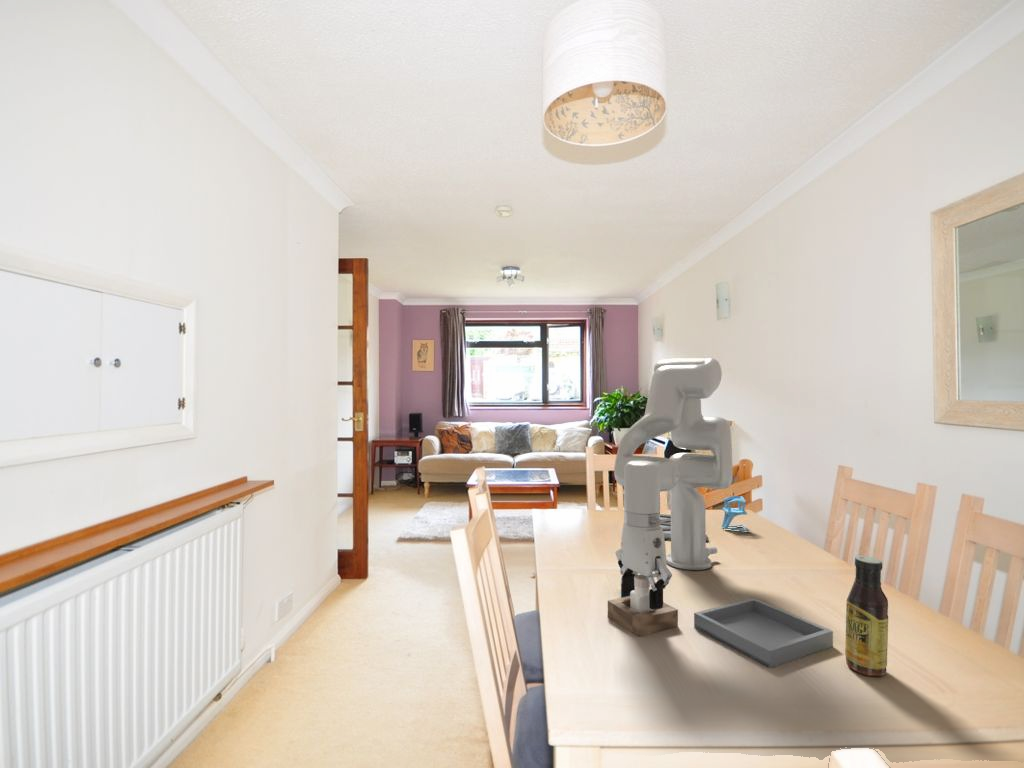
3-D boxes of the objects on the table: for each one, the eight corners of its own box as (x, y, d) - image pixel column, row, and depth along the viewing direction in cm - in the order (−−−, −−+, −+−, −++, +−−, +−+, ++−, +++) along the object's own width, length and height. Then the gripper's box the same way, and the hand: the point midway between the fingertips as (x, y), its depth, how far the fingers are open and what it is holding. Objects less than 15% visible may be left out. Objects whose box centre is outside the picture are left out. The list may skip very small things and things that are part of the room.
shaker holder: (644, 607, 120) (644, 592, 120) (677, 626, 111) (677, 609, 111) (607, 616, 116) (607, 600, 116) (638, 636, 106) (638, 619, 106)
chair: (719, 526, 192) (719, 493, 192) (743, 527, 191) (743, 494, 191) (725, 532, 184) (724, 498, 184) (750, 533, 183) (749, 498, 183)
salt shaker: (638, 626, 111) (638, 581, 111) (629, 618, 115) (629, 574, 115) (655, 624, 112) (655, 579, 112) (645, 616, 116) (645, 573, 116)
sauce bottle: (837, 661, 97) (836, 552, 97) (869, 659, 97) (868, 551, 97) (863, 680, 90) (863, 564, 90) (898, 679, 91) (897, 563, 91)
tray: (753, 611, 118) (753, 597, 118) (832, 646, 102) (832, 630, 102) (694, 627, 110) (694, 612, 110) (769, 668, 94) (769, 651, 94)
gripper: (684, 526, 107) (684, 612, 107) (629, 509, 123) (629, 584, 123) (656, 530, 104) (656, 619, 104) (603, 512, 120) (603, 589, 119)
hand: (641, 599), depth 113 cm, fingers open, 8 cm apart
